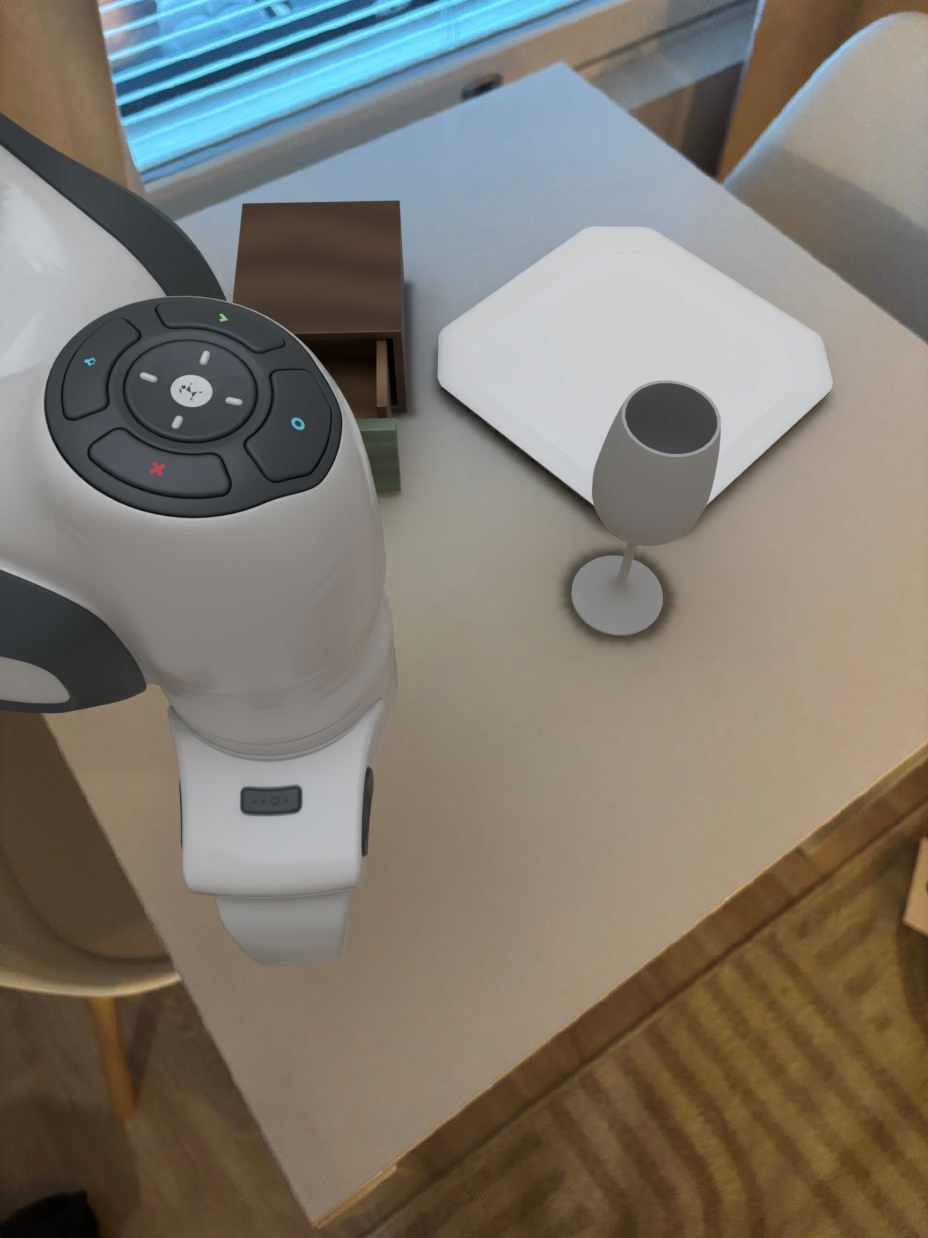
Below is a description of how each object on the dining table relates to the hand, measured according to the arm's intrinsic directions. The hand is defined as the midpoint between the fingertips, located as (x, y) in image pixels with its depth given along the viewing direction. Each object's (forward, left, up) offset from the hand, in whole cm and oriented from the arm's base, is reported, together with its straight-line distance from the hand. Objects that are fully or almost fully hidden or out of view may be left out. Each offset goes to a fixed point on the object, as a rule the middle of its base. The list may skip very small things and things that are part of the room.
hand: (323, 780), depth 49 cm
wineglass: (+21, +20, -17) cm, 33 cm away
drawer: (-2, +35, -16) cm, 38 cm away
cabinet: (-2, +47, -17) cm, 50 cm away
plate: (+25, +43, -17) cm, 52 cm away
